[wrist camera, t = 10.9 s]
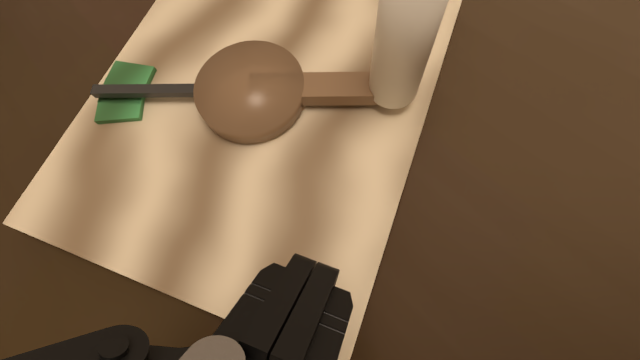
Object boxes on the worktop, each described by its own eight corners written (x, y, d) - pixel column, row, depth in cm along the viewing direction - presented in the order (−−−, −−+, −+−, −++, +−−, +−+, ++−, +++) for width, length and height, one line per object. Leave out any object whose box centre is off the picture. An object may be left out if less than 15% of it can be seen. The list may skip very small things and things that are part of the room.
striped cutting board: (457, 10, 27) (465, -11, 25) (346, 366, 19) (346, 372, 17) (206, -46, 31) (197, -68, 29) (23, 228, 23) (-4, 221, 21)
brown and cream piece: (411, 50, 23) (463, -143, 13) (418, 144, 21) (488, -9, 11) (112, 55, 25) (-41, -118, 15) (86, 143, 22) (-119, 7, 12)
